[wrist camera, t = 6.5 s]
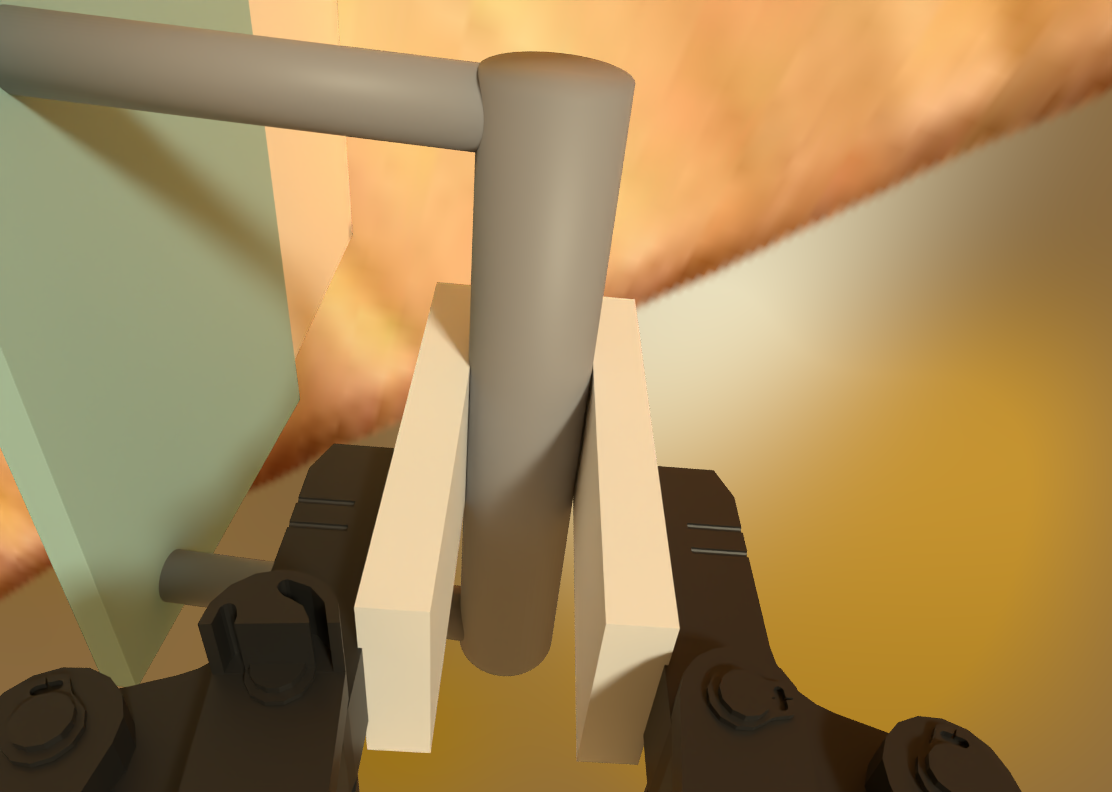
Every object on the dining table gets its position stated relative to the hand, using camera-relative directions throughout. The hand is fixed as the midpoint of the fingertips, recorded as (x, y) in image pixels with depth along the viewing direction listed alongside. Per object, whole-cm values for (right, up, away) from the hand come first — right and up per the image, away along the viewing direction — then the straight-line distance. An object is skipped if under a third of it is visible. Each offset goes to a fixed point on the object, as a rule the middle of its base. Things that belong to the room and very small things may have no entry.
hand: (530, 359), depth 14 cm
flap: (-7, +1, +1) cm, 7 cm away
